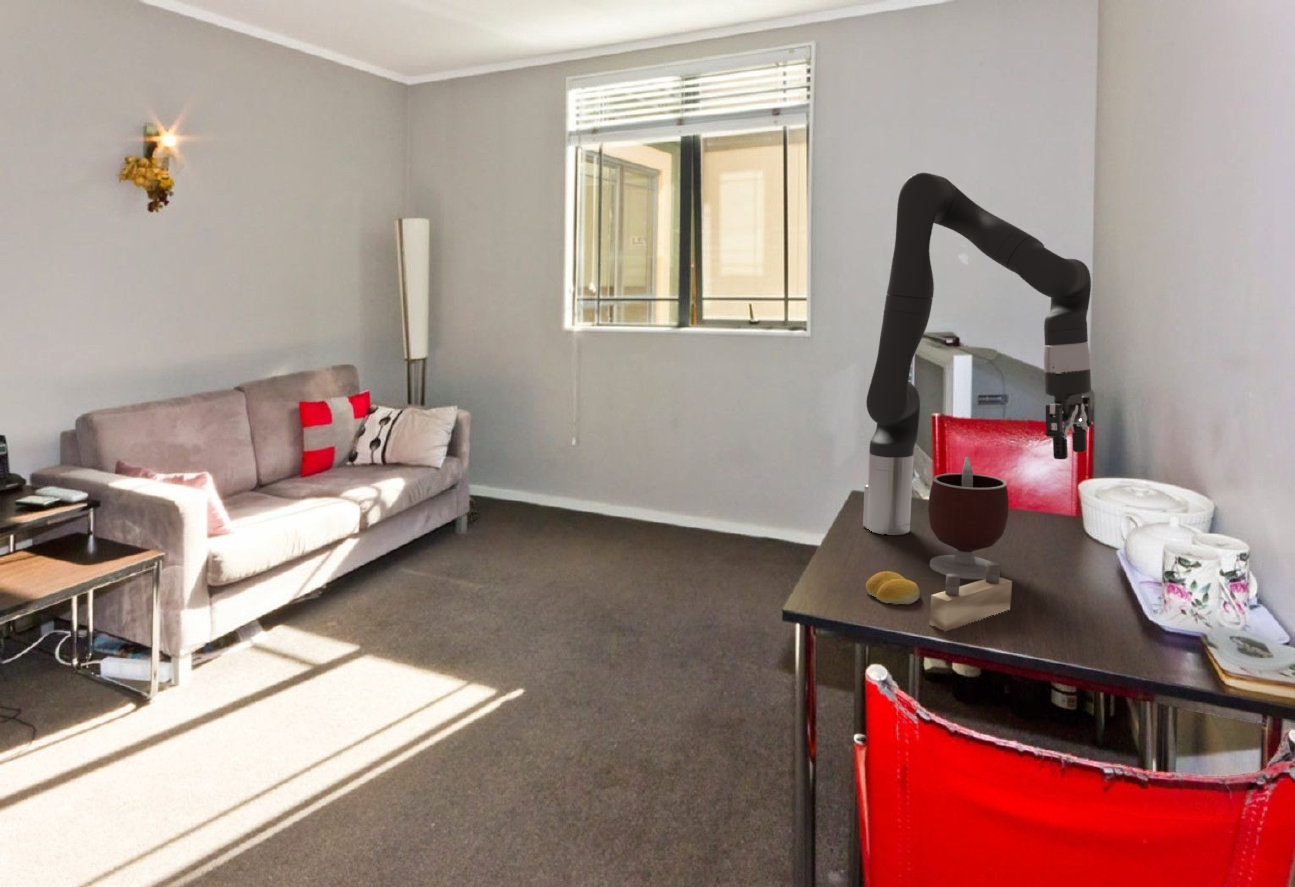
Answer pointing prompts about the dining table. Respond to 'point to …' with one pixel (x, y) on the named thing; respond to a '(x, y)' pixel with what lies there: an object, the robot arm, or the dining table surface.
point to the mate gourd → (967, 519)
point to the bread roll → (892, 588)
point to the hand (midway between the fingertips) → (1070, 455)
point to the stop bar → (970, 599)
